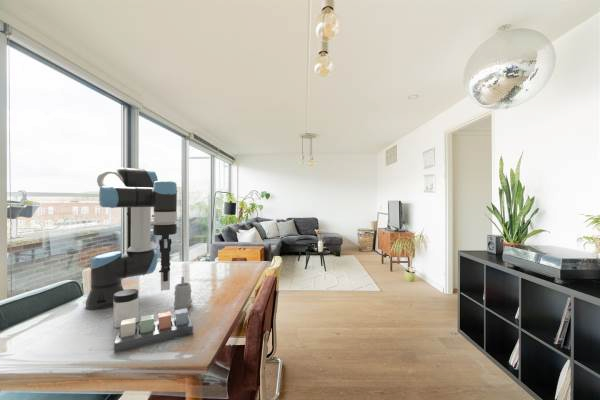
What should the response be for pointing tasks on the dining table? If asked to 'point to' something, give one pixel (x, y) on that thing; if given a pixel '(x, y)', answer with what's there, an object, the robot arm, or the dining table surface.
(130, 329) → the key ivory
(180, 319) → the key slate
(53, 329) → the dining table surface
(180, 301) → the mug
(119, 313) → the jar
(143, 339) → the key panel
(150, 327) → the key sage
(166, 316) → the key coral
